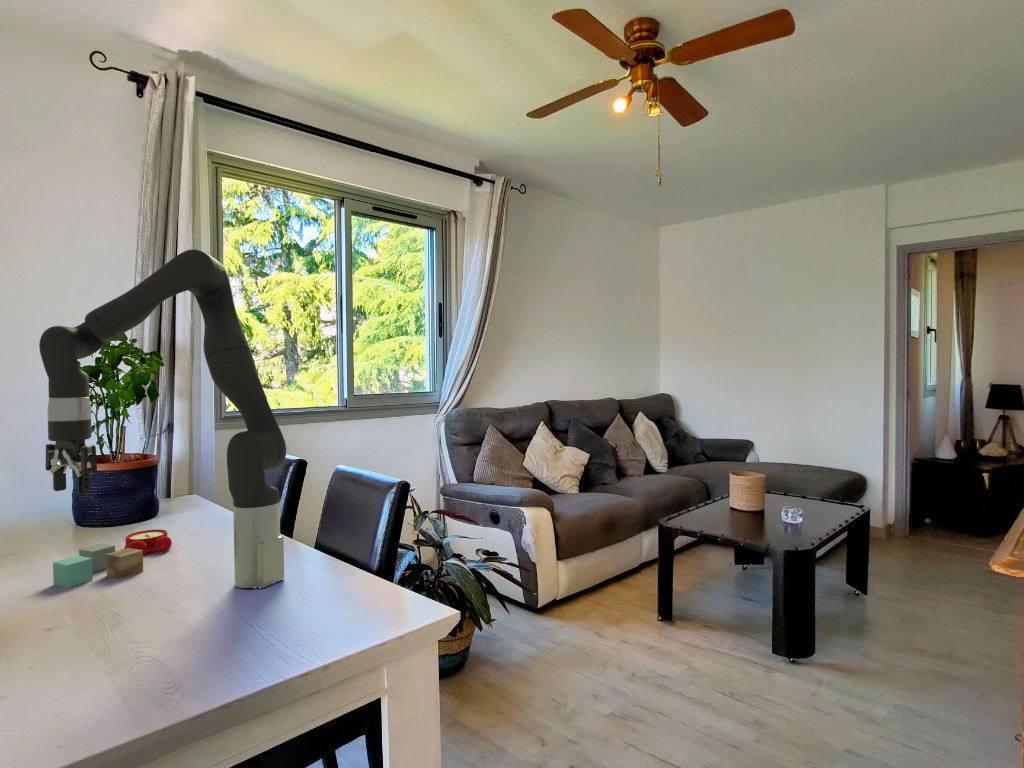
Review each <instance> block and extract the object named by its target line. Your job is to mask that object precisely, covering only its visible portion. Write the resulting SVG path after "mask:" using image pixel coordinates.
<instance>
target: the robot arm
mask: <svg viewBox="0 0 1024 768" xmlns="http://www.w3.org/2000/svg"><path fill="white" fill-rule="evenodd" d="M186 291H187V292H190V293H191V294H192V295H193V296H194V298H195V300H196V302H197V304H198V307H199V309H200V311H201V314H202V317H203V322H204V335H203V354H204V358H205V361H206V364H207V367H208V371H209V374H210V376H211V379H212V381H213V383H214V384H215V386H216V387H217V388H218V389H219V390H220V392H221V393H222V394H223V395H224V396H225V397H226V398H227V399H228V400H229V401H230V402H231V403H232V405H233V406H234V407H235V408H236V409H237V410H238V412H239V413H240V415H241V416H242V419H243V421H244V425H245V426H246V427H245V428H246V430H244V431H240V432H237V433H236V434H234V435H233V436H231V438H230V439H229V441H228V444H227V448H226V466H227V467H226V468H227V480H228V489H229V492H230V495H231V498H232V504H233V506H232V507H233V514H232V515H233V554H234V555H233V561H234V565H233V566H234V567H233V569H234V586H235V587H236V588H238V587H239V589H243V588H253V589H257V588H256V587H261V588H263V587H265V586H268V585H270V584H272V583H274V582H276V581H278V580H281V579H283V578H284V579H285V550H284V549H285V547H284V546H285V545H284V542H285V540H284V536H281V521H280V520H281V519H280V518H281V516H280V515H281V512H280V490H279V488H278V487H276V486H271V485H269V484H268V483H267V482H266V478H265V477H266V476H265V471H267V470H268V471H269V470H272V469H277V468H278V467H280V466H281V465H282V464H283V463H284V461H285V459H286V456H287V445H286V440H285V437H284V435H283V432H282V430H281V428H280V425H279V423H278V421H277V420H276V417H275V415H274V414H273V413H274V412H273V411H272V409H271V408H272V407H271V406H270V403H269V401H268V398H267V396H266V393H265V391H264V388H263V385H262V382H261V379H260V376H259V373H258V369H257V366H256V363H255V360H254V357H253V353H252V350H251V348H250V346H249V344H248V340H247V337H246V335H245V331H244V328H243V326H242V323H241V321H240V319H239V315H238V313H237V309H236V306H235V302H234V301H235V300H234V298H233V292H232V287H231V282H230V278H229V274H228V270H227V269H226V268H225V266H224V265H223V264H222V263H221V262H220V261H218V260H217V259H216V258H214V257H212V256H211V255H210V254H209V253H207V252H205V251H203V250H200V249H194V248H193V249H187V250H185V251H183V252H181V253H179V254H178V255H176V256H174V257H173V258H172V259H170V260H169V261H168V262H166V263H165V264H164V265H163V266H161V267H159V269H157V270H156V271H155V272H153V273H152V274H150V275H149V276H148V277H146V278H145V279H144V280H142V281H141V282H140V283H138V284H137V285H135V286H134V287H132V288H131V289H129V290H128V291H126V292H125V293H122V294H120V295H119V296H117V297H115V298H114V299H112V300H110V301H108V302H106V303H104V304H103V305H100V306H98V307H97V308H95V309H92V310H91V311H90V312H88V313H87V314H85V316H84V322H82V323H80V324H79V325H77V326H74V327H70V326H63V325H53V326H50V327H48V328H47V329H45V330H44V331H43V333H42V334H41V337H40V339H39V347H38V348H39V354H40V357H41V360H42V364H43V368H44V370H45V372H46V375H47V378H48V384H47V385H48V403H47V438H48V441H49V442H53V443H47V444H45V470H46V471H50V474H51V475H52V489H53V491H54V492H61V491H66V489H67V473H66V471H67V470H68V469H67V468H68V467H69V468H70V469H71V470H74V472H75V475H76V493H77V494H78V495H83V494H88V493H90V491H91V487H90V486H91V485H90V484H91V480H90V479H91V478H90V476H91V475H92V474H96V473H97V472H98V463H97V461H98V459H97V447H96V445H94V444H92V445H91V444H90V445H86V440H89V439H91V438H92V406H91V400H90V380H89V375H88V373H86V372H85V371H83V370H81V368H80V366H79V362H78V361H79V360H81V359H85V358H88V357H89V356H92V355H93V354H95V353H97V352H99V350H100V349H102V348H103V347H105V345H107V344H108V343H109V342H110V341H111V340H113V339H115V338H117V337H119V336H121V335H123V334H124V333H127V332H128V331H130V330H132V329H134V328H135V327H137V326H139V325H141V324H142V323H143V322H144V321H145V320H146V319H147V318H148V317H149V316H150V315H151V314H152V313H153V312H154V311H155V309H156V308H157V307H158V306H160V304H162V303H164V302H165V301H166V300H168V299H169V298H171V297H173V296H176V295H179V294H181V293H184V292H186ZM284 579H283V580H284ZM281 581H282V580H281ZM274 584H275V583H274ZM272 585H273V584H272ZM270 586H271V585H270ZM254 587H255V588H254ZM268 587H269V586H268ZM261 588H260V589H261ZM265 588H266V587H265ZM263 589H264V588H263Z"/></svg>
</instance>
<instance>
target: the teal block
mask: <svg viewBox="0 0 1024 768" xmlns="http://www.w3.org/2000/svg"><path fill="white" fill-rule="evenodd" d="M52 574H53V575H52V577H53V578H52V579H53V585H54V586H56V585H57V587H60V586H62V587H61V588H65V587H67V588H66V589H69V588H68V587H70V588H73V587H76V586H79V585H82V584H85V582H86V583H88V581H89V582H92V581H93V577H94V576H93V573H92V558H88V557H83V556H79V555H76V556H72V557H68V558H65V559H60V560H57V561H54V562H52ZM81 583H82V584H81ZM78 584H79V585H78ZM75 585H76V586H75ZM72 586H73V587H72Z"/></svg>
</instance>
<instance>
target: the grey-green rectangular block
mask: <svg viewBox="0 0 1024 768" xmlns="http://www.w3.org/2000/svg"><path fill="white" fill-rule="evenodd" d="M113 552H116V545H113V544H110V543H109V544H108V543H103V542H102V543H101V542H100V543H98V544H94V545H90V546H86V547H84V548H79V549H78V553H79V554H78V556H83V557H88V558H92V574H94V573H97V572H100V571H101V572H102V571H104V570H107V563H106V554H109V553H113Z"/></svg>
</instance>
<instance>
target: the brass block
mask: <svg viewBox="0 0 1024 768" xmlns="http://www.w3.org/2000/svg"><path fill="white" fill-rule="evenodd" d="M106 563H107V569H106V576H107V577H111V578H115V579H120V580H121V579H125V578H127V576H128V577H131V576H134V575H137V574H139V572H140V573H142V571H143V572H144V555H143V550H138V549H132V548H127V549H124V548H123V549H120V550H115V552H113V553H109V554H106Z"/></svg>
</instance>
